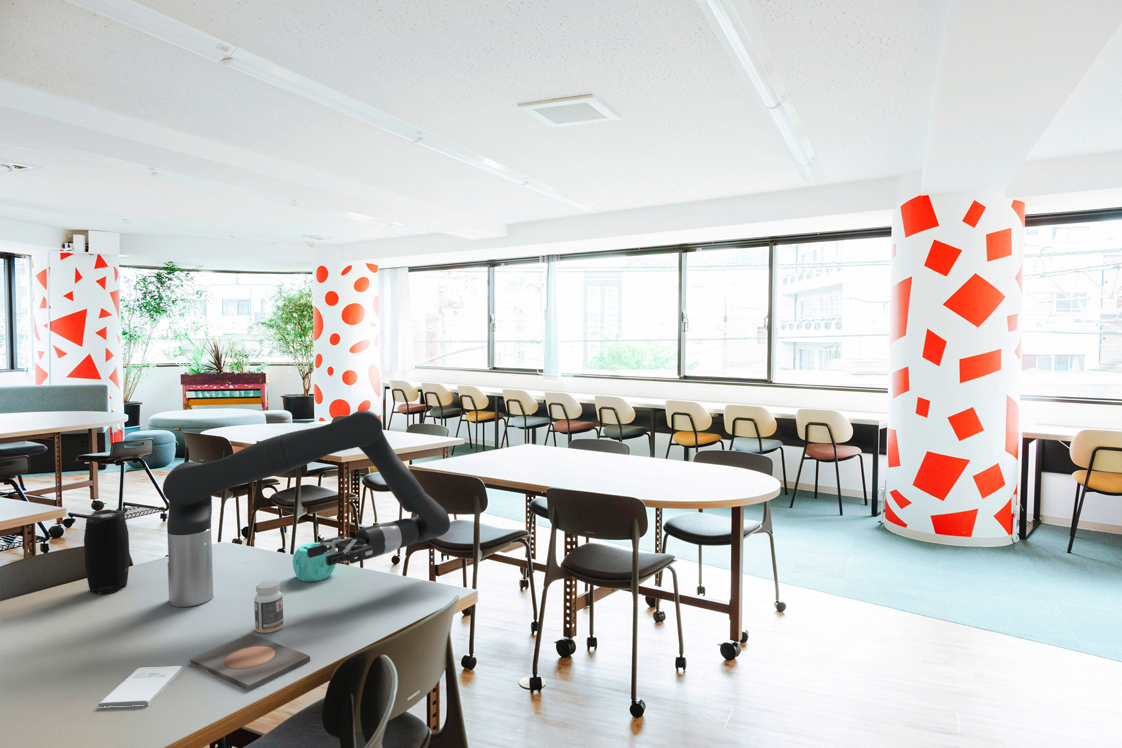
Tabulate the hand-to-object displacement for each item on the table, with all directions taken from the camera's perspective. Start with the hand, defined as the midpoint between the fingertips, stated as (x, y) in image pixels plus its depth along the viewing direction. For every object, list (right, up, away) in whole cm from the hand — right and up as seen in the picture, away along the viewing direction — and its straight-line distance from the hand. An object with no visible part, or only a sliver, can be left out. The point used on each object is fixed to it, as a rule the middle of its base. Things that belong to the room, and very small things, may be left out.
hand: (317, 557), depth 154 cm
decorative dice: (-9, -12, +24) cm, 28 cm away
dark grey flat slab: (-5, -14, -23) cm, 27 cm away
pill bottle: (-8, -14, -8) cm, 17 cm away
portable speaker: (-58, -12, +15) cm, 61 cm away
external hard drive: (-20, -16, -32) cm, 41 cm away
